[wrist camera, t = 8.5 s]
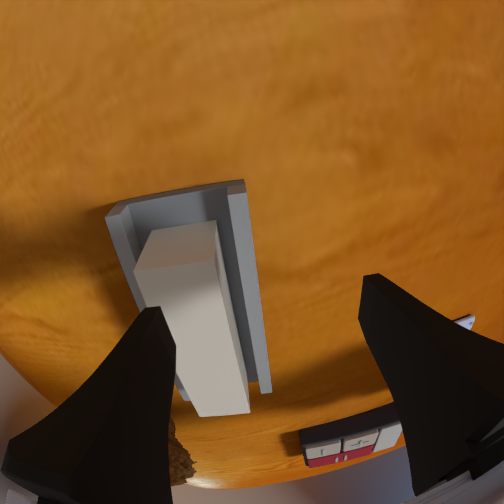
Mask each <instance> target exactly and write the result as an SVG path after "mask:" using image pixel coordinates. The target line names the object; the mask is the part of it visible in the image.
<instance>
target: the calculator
mask: <svg viewBox="0 0 504 504" xmlns="http://www.w3.org/2000/svg"><path fill="white" fill-rule="evenodd" d="M402 431H403V430H402V427H401V423H400V419H399V416H398V413H397V409H396V406H395V403H394V402H392V403H389V404H386V405H384V406H381V407H378V408H375V409H374V410H373V411H369V412H366V413H362V414H359V415H355V416H351V417H347V418H344V419H340V420H336V421H333V422H329V423H325V424H321V425H317V426H313V427H309V428H304V429H301V430H299V435H300V442H301V448H302V452H303V456H304V460H305V464H306V466H309V468H314V467H319V466H324V465H329V464H334V463H338V462H342V461H347V460H351V459H355V458H359V457H362V456H366V455H369V454H371V452H372V451H373V452H376V451H379V450H383V449H386V448H389V447H392V446H394V445H395V444H396V442H397V440H398V438H399V436H400V435H401V433H402Z"/></svg>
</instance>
